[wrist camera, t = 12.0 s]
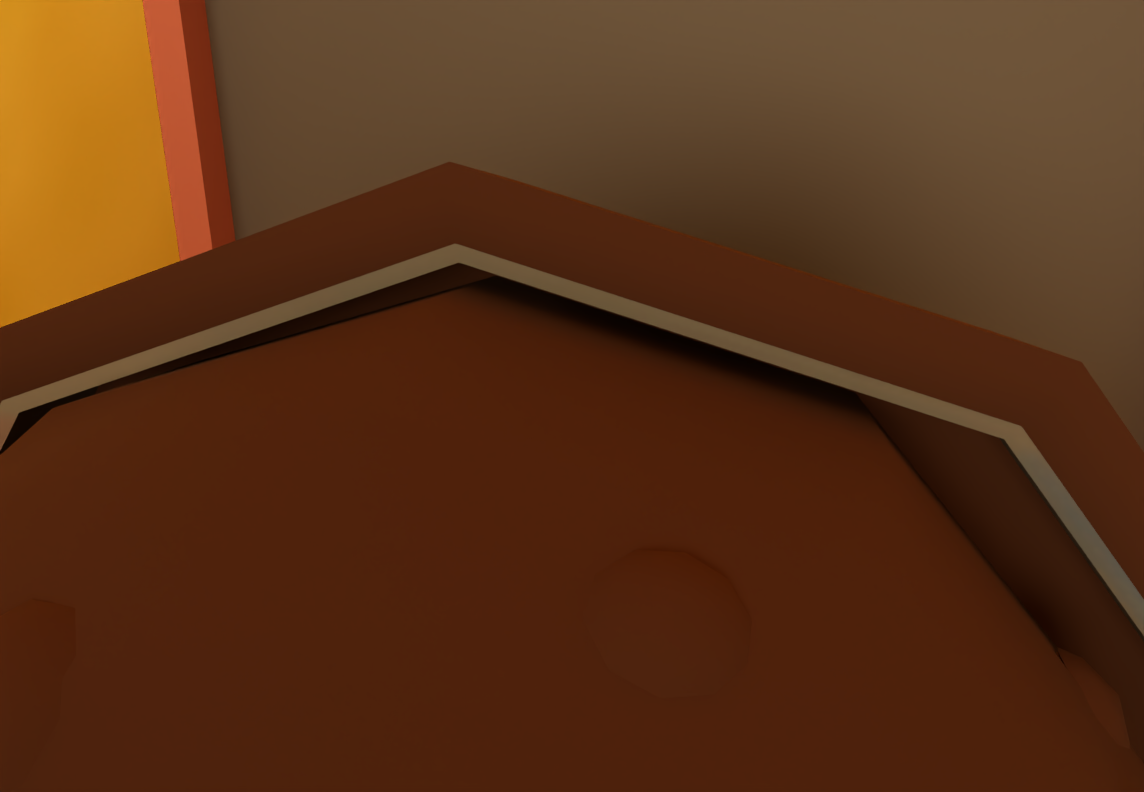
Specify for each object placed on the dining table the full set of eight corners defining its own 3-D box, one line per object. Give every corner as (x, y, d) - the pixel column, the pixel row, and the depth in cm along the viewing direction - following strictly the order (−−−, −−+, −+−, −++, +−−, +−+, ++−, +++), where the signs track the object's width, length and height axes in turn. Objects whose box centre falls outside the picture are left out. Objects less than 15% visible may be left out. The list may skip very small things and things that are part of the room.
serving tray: (303, 792, 23) (265, 851, 22) (183, -134, 18) (119, -152, 16) (1104, 872, 20) (1133, 948, 19) (1266, -205, 15) (1328, -235, 13)
